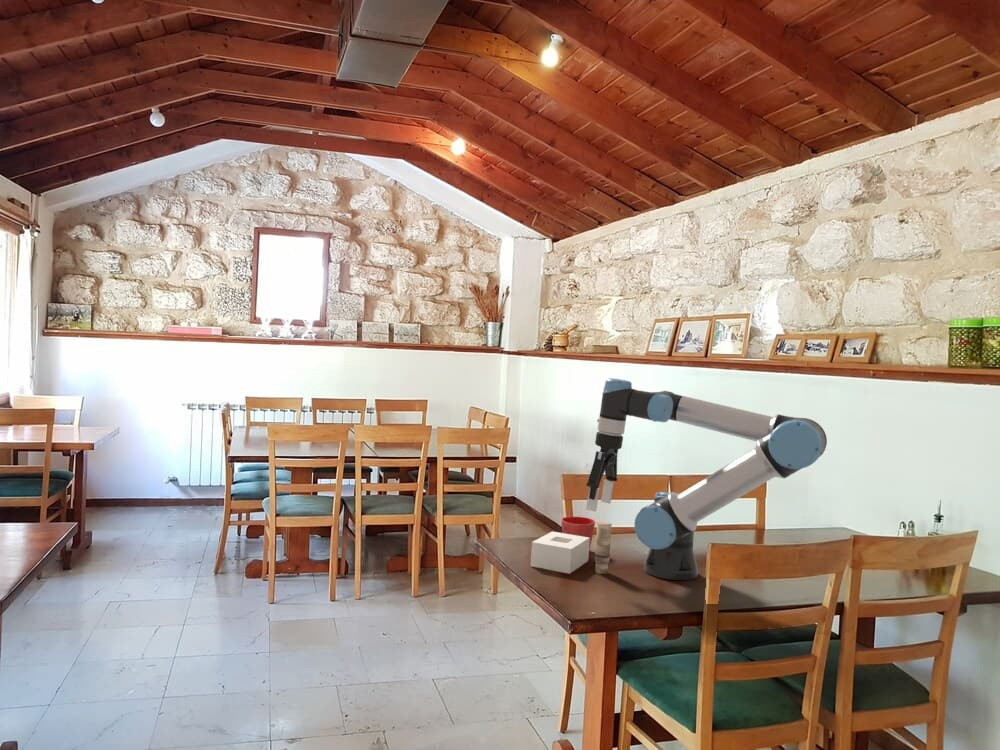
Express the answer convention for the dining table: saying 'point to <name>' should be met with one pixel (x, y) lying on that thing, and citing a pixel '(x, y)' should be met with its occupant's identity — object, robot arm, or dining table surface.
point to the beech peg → (602, 547)
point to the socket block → (560, 552)
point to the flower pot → (578, 526)
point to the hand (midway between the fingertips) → (598, 506)
